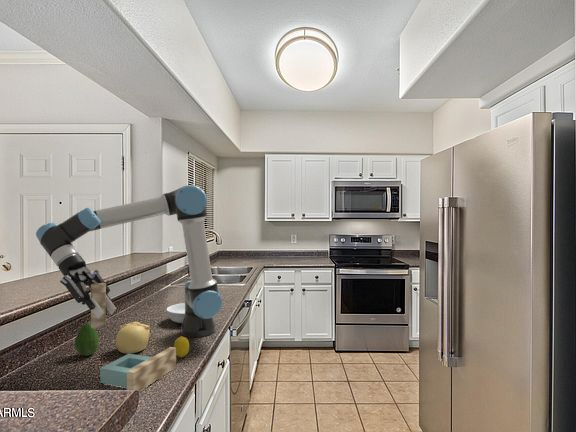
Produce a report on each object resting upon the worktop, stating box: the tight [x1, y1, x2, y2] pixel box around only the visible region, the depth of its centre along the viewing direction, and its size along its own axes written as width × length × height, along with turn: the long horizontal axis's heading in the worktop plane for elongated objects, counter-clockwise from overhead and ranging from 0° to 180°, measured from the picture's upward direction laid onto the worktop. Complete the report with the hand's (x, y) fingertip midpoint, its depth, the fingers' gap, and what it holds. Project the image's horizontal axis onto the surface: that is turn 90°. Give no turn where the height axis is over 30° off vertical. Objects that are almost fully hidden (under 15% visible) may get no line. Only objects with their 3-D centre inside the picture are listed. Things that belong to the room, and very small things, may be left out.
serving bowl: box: [166, 302, 185, 324], centre depth 174 cm, size 21×21×7 cm
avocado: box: [74, 322, 100, 357], centre depth 133 cm, size 8×8×12 cm
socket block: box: [99, 353, 153, 388], centre depth 114 cm, size 12×12×5 cm
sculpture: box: [115, 321, 151, 355], centre depth 137 cm, size 12×12×11 cm
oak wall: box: [126, 346, 177, 393], centre depth 112 cm, size 20×2×7 cm, turn 162°
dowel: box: [90, 282, 107, 329], centre depth 118 cm, size 4×4×14 cm
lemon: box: [173, 335, 190, 359], centre depth 130 cm, size 6×6×8 cm
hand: (107, 313), depth 117 cm, fingers closed on dowel, 4 cm apart
